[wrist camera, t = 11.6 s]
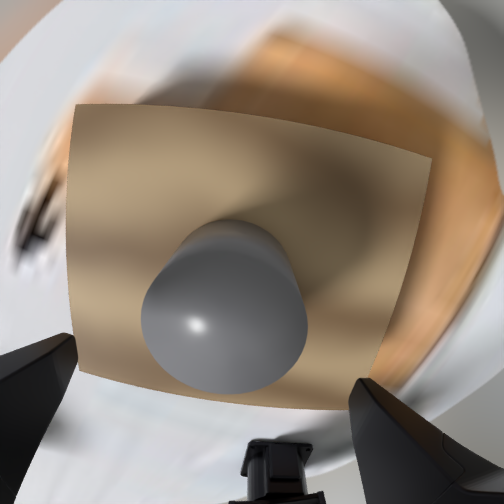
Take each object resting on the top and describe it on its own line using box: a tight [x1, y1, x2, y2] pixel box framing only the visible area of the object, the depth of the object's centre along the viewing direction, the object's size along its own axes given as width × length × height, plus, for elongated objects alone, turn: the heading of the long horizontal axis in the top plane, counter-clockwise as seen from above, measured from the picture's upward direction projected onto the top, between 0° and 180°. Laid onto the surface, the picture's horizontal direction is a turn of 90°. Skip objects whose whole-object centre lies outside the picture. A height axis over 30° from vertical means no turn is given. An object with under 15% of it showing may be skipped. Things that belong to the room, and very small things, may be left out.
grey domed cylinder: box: [141, 219, 308, 394], centre depth 13 cm, size 6×6×5 cm
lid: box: [66, 104, 432, 410], centre depth 16 cm, size 16×18×1 cm
